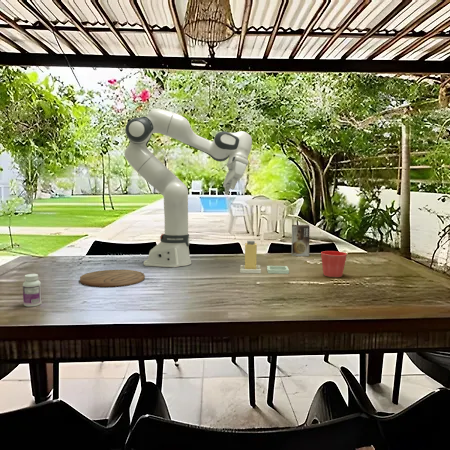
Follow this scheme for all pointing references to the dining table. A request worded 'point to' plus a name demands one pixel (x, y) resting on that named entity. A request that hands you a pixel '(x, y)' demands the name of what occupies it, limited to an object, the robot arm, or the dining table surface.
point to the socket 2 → (278, 269)
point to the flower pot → (333, 263)
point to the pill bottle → (32, 291)
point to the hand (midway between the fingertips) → (229, 191)
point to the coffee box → (300, 240)
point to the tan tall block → (250, 255)
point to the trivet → (112, 278)
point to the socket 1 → (243, 270)
